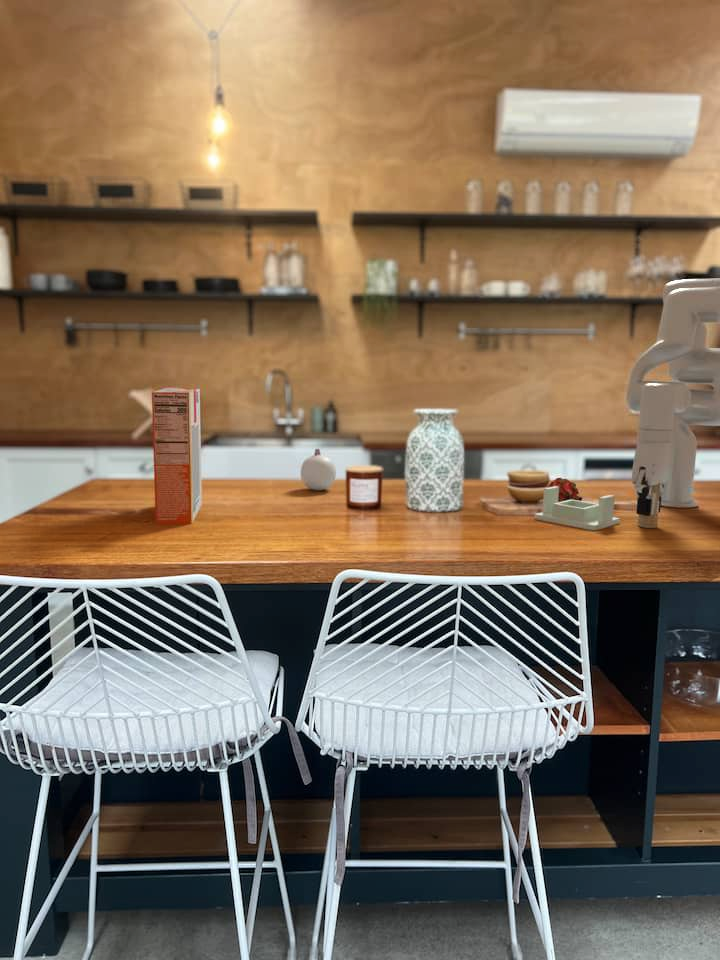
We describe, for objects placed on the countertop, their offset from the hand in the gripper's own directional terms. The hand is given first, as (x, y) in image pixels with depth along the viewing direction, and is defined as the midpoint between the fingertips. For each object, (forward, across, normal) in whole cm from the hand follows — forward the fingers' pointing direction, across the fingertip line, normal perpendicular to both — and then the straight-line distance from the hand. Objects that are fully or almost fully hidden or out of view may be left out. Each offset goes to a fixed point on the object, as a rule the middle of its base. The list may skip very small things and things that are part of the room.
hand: (648, 512), depth 172 cm
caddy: (+3, +8, -14) cm, 16 cm away
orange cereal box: (+4, +77, -82) cm, 113 cm away
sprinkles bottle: (+4, 0, 0) cm, 4 cm away
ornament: (+4, +30, -85) cm, 90 cm away
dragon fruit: (+4, -4, -25) cm, 26 cm away
